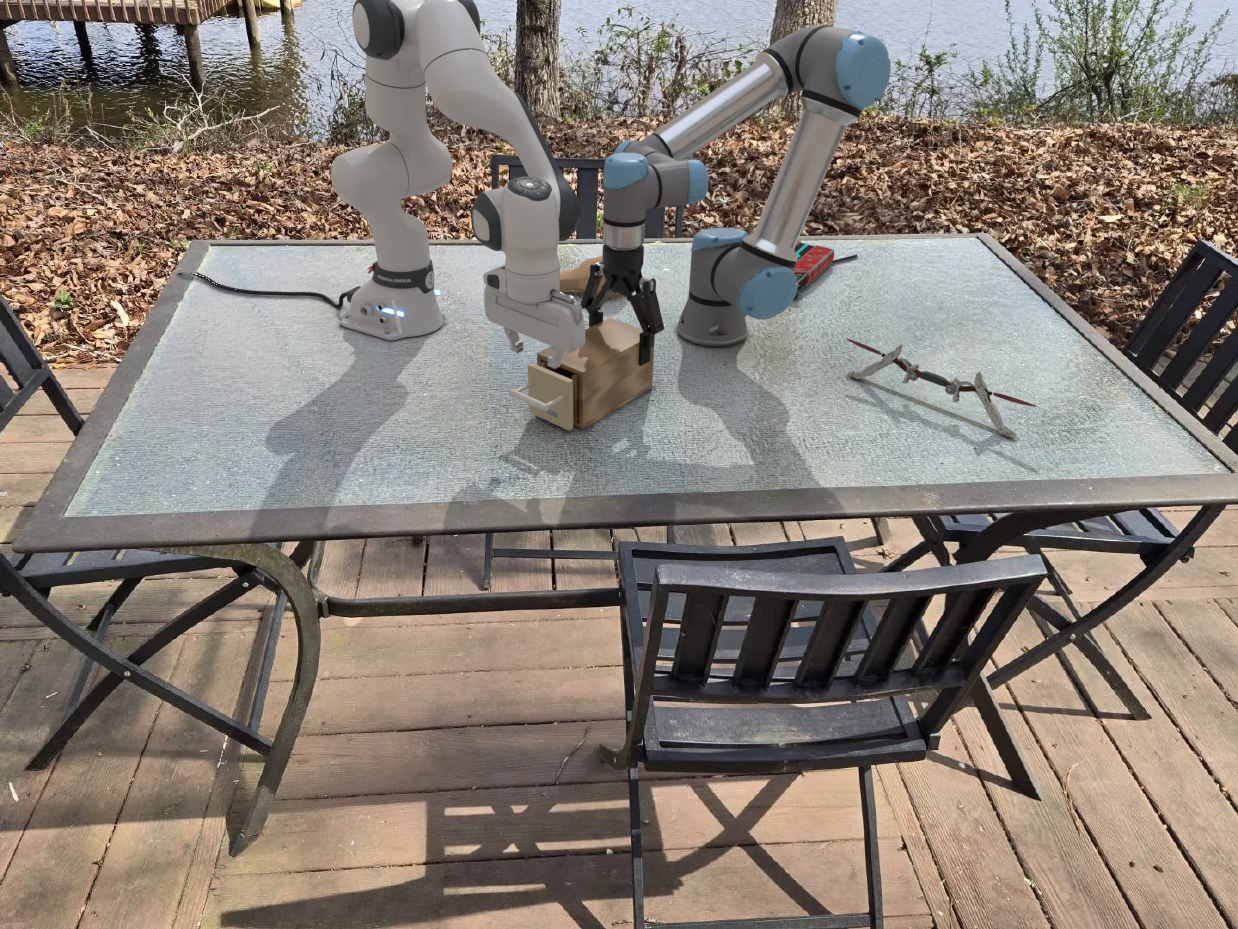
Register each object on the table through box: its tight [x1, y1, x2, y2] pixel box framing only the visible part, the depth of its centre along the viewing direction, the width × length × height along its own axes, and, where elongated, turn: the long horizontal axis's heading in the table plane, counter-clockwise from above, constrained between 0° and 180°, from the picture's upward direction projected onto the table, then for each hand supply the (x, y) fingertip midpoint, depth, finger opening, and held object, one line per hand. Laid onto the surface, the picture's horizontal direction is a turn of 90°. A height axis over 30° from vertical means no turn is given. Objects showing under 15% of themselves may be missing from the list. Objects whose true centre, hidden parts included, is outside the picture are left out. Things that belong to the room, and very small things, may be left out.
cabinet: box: [536, 317, 656, 430], centre depth 166 cm, size 21×11×12 cm, turn 141°
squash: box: [560, 255, 619, 299], centre depth 210 cm, size 11×20×9 cm, turn 90°
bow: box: [845, 337, 1037, 438], centre depth 168 cm, size 39×2×10 cm, turn 47°
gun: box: [793, 239, 835, 300], centre depth 224 cm, size 4×31×19 cm
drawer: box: [508, 361, 579, 431], centre depth 162 cm, size 25×10×10 cm, turn 141°
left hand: (535, 358), depth 150 cm, fingers open, 7 cm apart
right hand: (620, 353), depth 170 cm, fingers closed on cabinet, 11 cm apart
